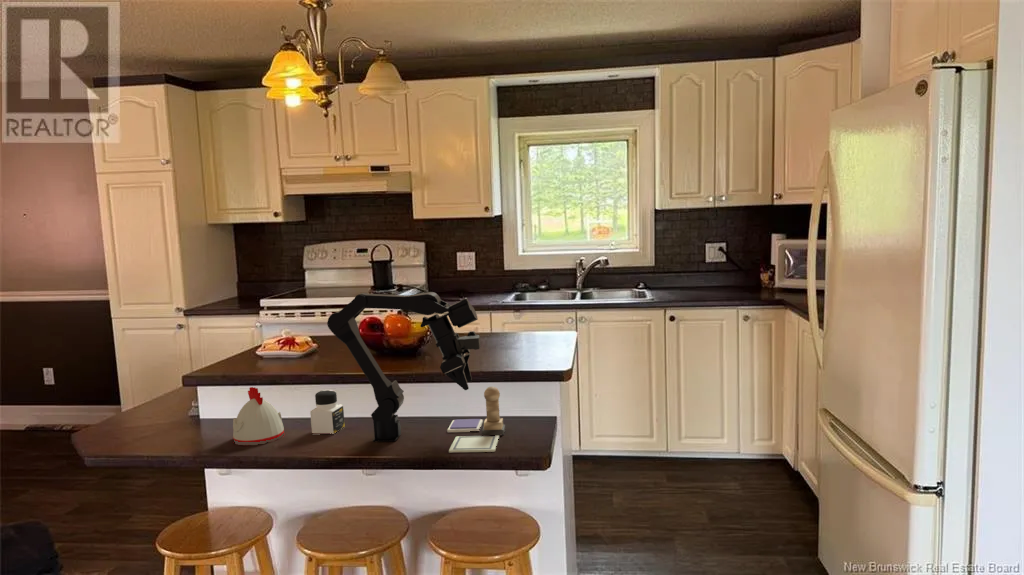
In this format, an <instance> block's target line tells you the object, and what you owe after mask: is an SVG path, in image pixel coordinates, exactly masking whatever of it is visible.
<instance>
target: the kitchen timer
mask: <svg viewBox="0 0 1024 575" xmlns="http://www.w3.org/2000/svg"><path fill="white" fill-rule="evenodd" d="M247 394H248V397H249V401H247V402H246V403H245V404H244V405H243V406H242V407H241V408H240V410H239V411H238V414H237V416H236V418H235V417H234V418H233V421H232V431H233V434H232V440H233V439H234V440H235V441H238V442H260V441H266V440H271V439H274V438H277V437H279V436H281V435H282V434H283V433H284V434H285V428H284V424H283V419H282V414H281V412H280V411H279V412H278V411H277V409H276V408H275V407H274V405H273V404H272V403H270V402H269V401H267V400H266V399H264V397H263V396H261V392H259V389H258V387H253V386H252V387H251V386H249V390H247Z"/></svg>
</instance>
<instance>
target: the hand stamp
mask: <svg viewBox="0 0 1024 575" xmlns="http://www.w3.org/2000/svg"><path fill="white" fill-rule="evenodd" d="M500 394H501V393H500V390H499V389H498V388H497V387H496V386H489V387H487V388H486V389H485V390H484V392H483V397H484V399H485V407H486V408H485V410H486V418H485V419H484V420H483V428H482V430H481V434H482V435H495V436H501V435H500V434H504V435H505V433H506V430H505V429H506V424H504V418H503V417H501V416H500V403H499V402H500V401H499V400H500V396H501V395H500ZM504 432H505V433H504ZM482 435H481V436H482Z"/></svg>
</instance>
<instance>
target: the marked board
mask: <svg viewBox="0 0 1024 575" xmlns="http://www.w3.org/2000/svg"><path fill="white" fill-rule="evenodd" d="M498 439H499V440H500V435H495V436H482V435H466V436H464V435H463V436H461V435H460V436H455V438H454V440H453V442H452V443H451V445H450V447H449V449H448V453H449V454H450V453H485V452H487V453H491V452H492V453H495V452H496V449H497V447H498V443H499V440H498ZM496 446H497V447H496Z"/></svg>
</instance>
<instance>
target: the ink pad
mask: <svg viewBox="0 0 1024 575" xmlns="http://www.w3.org/2000/svg"><path fill="white" fill-rule="evenodd" d="M483 424H484V419H481V418H465V419H462V418H461V419H460V418H459V419H453V420H452V421H451V423H450V424H449V427H448V428H447V429H446V431H447V433H471V432H470V431H479V432H480V430H481V428H482V425H483ZM480 427H481V428H480ZM479 429H480V430H479Z"/></svg>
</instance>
